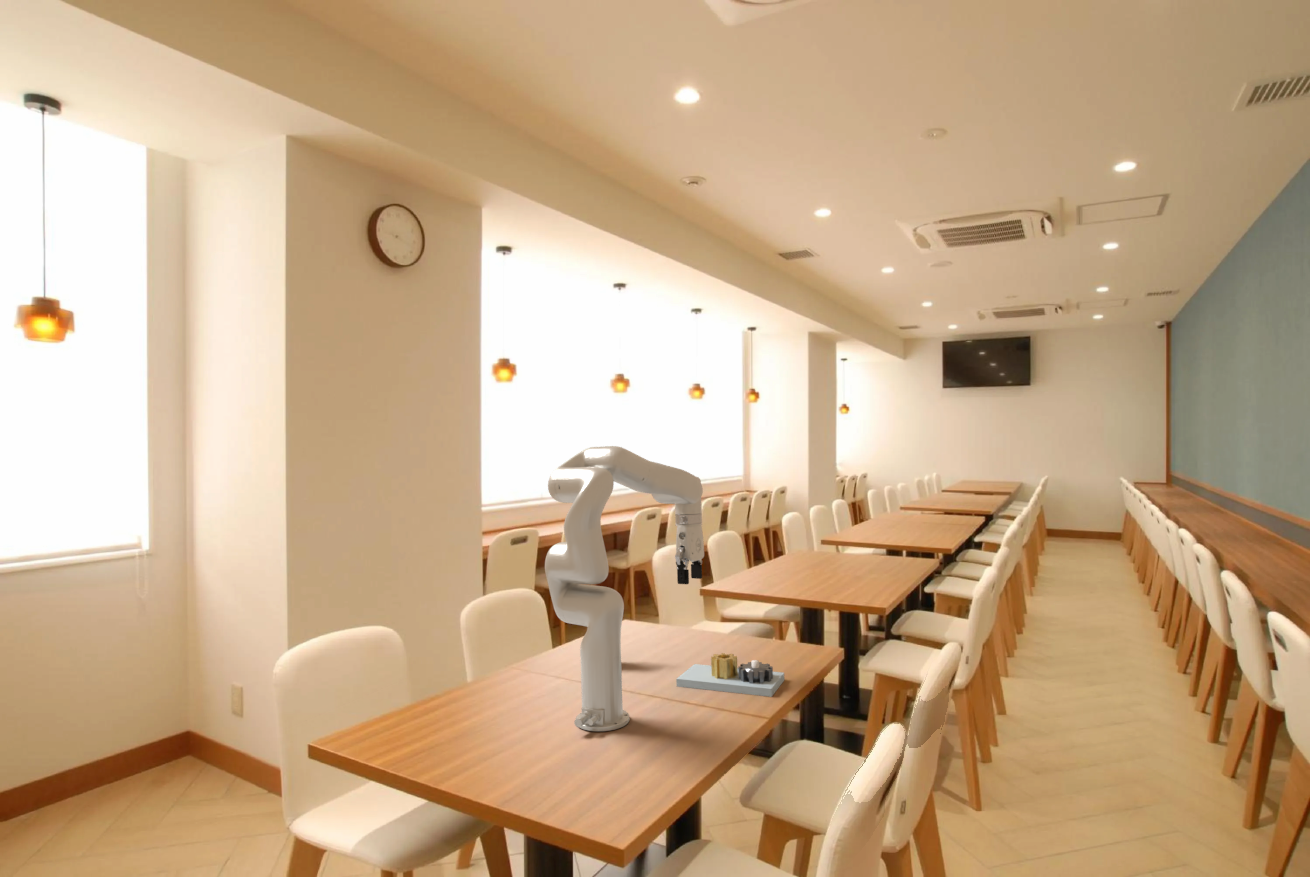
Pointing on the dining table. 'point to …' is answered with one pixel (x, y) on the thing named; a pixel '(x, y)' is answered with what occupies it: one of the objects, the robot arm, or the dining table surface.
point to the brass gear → (724, 666)
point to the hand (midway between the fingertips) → (690, 581)
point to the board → (728, 681)
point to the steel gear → (755, 673)
